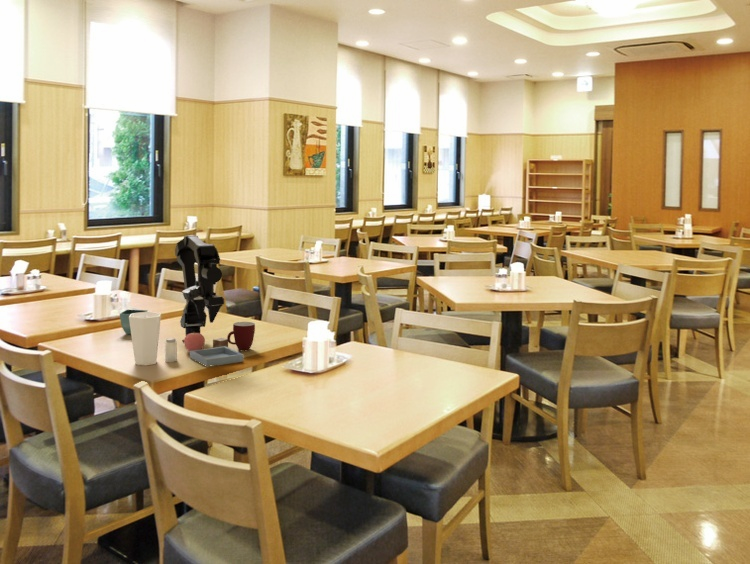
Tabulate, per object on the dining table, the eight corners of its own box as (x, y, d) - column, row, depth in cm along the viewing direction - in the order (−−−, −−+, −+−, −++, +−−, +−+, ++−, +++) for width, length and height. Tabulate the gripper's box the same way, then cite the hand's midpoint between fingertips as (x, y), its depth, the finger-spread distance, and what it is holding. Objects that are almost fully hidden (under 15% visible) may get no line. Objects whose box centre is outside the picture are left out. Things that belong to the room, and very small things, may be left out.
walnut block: (213, 349, 272) (213, 339, 271) (221, 347, 275) (221, 337, 275) (220, 351, 270) (220, 341, 269) (228, 349, 273) (228, 339, 272)
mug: (233, 354, 266) (233, 327, 264) (223, 349, 272) (223, 323, 270) (258, 350, 273) (258, 324, 271) (248, 346, 279) (248, 320, 277)
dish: (189, 358, 259) (189, 351, 258) (225, 353, 267) (225, 346, 267) (206, 367, 248) (206, 359, 247) (243, 361, 256) (243, 354, 256)
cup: (168, 361, 254) (167, 313, 251) (150, 368, 244) (149, 319, 241) (141, 357, 257) (140, 310, 255) (123, 364, 248) (122, 316, 245)
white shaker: (163, 360, 255) (163, 338, 253) (174, 358, 257) (174, 337, 256) (167, 362, 252) (167, 341, 250) (178, 361, 254) (178, 339, 253)
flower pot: (141, 336, 290) (140, 314, 288) (119, 335, 290) (119, 313, 288) (148, 331, 298) (148, 310, 297) (127, 330, 298) (126, 309, 297)
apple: (186, 355, 262) (186, 334, 261) (182, 350, 269) (182, 329, 267) (207, 353, 266) (207, 332, 264) (202, 349, 272) (202, 328, 271)
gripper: (174, 276, 266) (174, 317, 268) (196, 283, 252) (196, 327, 254) (202, 274, 273) (202, 315, 275) (225, 281, 259) (225, 324, 261)
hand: (205, 320), depth 266 cm, fingers open, 9 cm apart
